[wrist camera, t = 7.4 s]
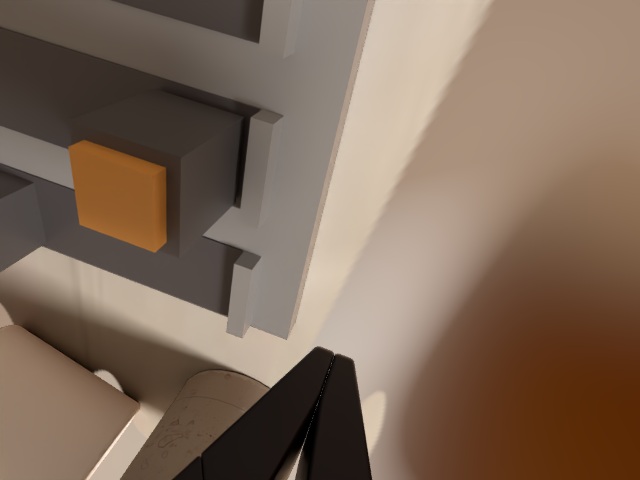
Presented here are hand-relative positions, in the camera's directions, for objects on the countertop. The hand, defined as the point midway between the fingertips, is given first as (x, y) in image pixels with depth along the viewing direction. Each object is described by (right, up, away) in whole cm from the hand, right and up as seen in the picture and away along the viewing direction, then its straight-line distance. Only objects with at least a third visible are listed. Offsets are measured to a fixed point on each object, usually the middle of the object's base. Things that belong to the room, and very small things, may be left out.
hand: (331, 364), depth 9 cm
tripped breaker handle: (-5, +6, +7) cm, 10 cm away
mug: (-18, -8, +23) cm, 30 cm away
